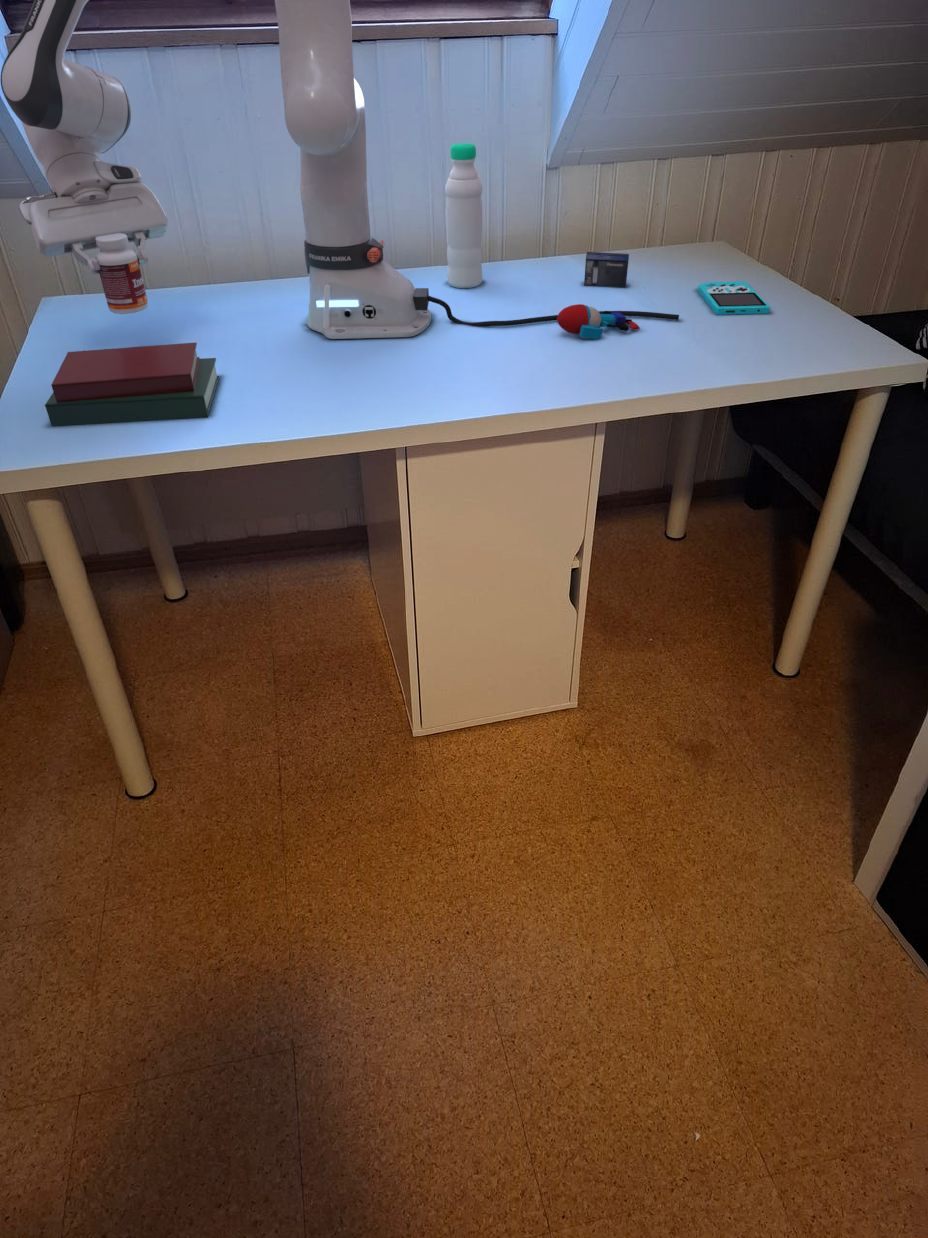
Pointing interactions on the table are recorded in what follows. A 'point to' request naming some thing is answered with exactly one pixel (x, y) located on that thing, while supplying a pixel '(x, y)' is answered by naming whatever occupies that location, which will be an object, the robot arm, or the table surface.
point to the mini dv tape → (606, 269)
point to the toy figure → (591, 321)
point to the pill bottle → (120, 275)
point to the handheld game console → (732, 298)
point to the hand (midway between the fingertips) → (120, 267)
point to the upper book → (126, 372)
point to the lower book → (140, 404)
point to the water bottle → (464, 219)
